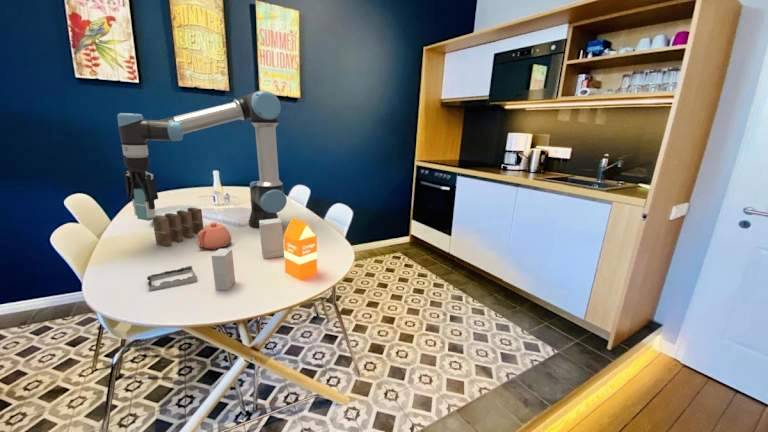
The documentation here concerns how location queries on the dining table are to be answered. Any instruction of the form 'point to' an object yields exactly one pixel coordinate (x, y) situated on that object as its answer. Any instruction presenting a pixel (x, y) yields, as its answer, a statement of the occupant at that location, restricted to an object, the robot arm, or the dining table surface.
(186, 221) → the domino
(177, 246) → the dining table surface
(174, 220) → the domino
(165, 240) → the domino
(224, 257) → the skincare box
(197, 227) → the domino
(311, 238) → the orange juice
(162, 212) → the serving bowl
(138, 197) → the domino
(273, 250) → the skincare box
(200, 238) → the sugar bowl
